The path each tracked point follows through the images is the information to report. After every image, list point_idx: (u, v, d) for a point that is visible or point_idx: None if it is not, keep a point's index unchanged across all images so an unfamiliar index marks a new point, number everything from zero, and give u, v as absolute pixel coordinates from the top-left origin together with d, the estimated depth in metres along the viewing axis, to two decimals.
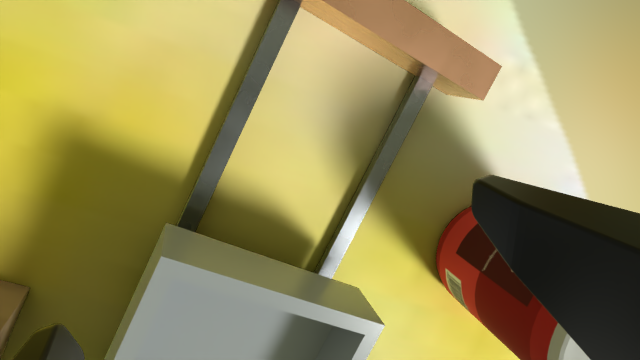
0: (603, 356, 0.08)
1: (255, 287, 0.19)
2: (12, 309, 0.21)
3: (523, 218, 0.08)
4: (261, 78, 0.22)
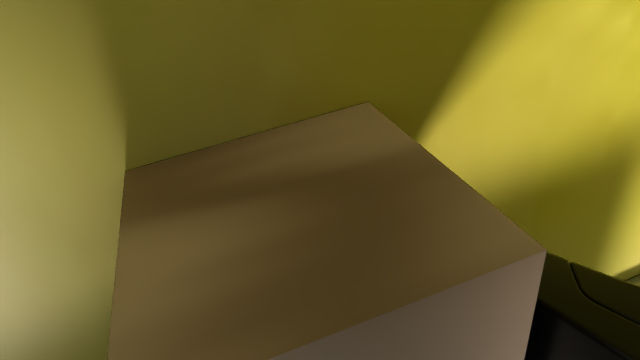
0: None
1: None
2: None
3: None
4: None
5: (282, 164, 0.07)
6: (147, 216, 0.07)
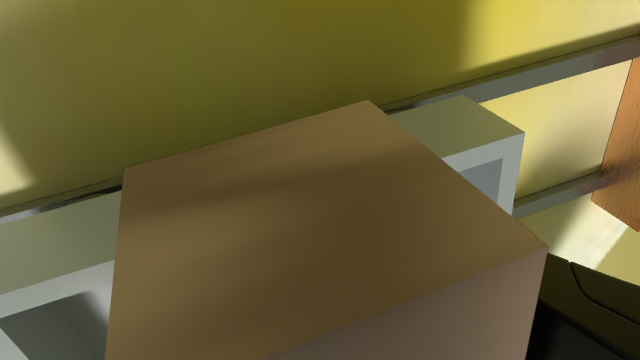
0: None
1: None
2: None
3: None
4: (581, 69, 0.22)
5: (282, 162, 0.07)
6: (146, 213, 0.07)
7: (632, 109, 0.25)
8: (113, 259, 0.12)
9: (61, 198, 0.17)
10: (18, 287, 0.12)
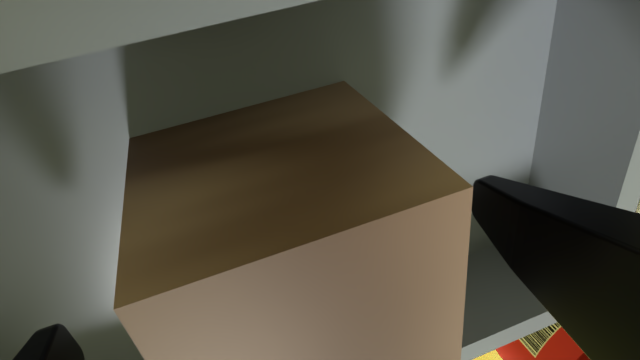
0: (603, 356, 0.08)
1: None
2: None
3: (523, 218, 0.08)
4: None
5: (266, 130, 0.09)
6: (148, 171, 0.08)
7: None
8: None
9: None
10: None
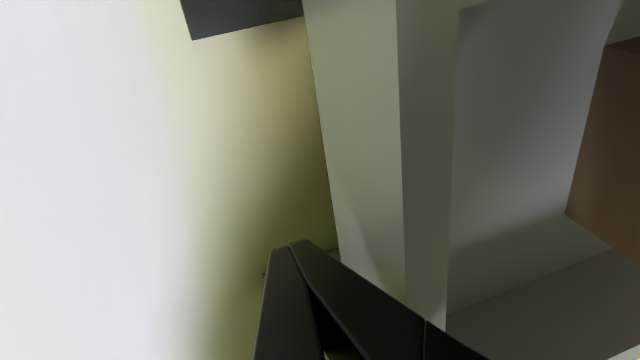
0: None
1: None
2: None
3: (310, 297, 0.07)
4: None
5: None
6: None
7: None
8: None
9: None
10: None
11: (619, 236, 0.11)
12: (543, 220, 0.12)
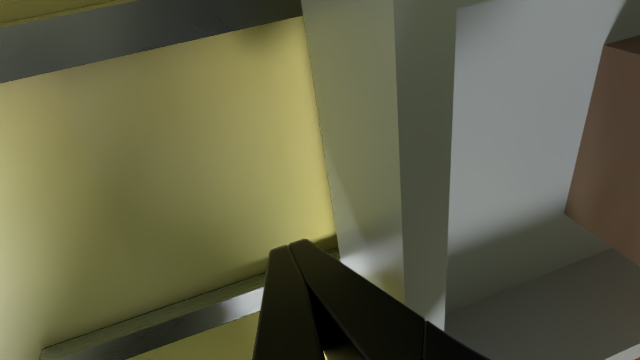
0: None
1: None
2: None
3: (310, 297, 0.07)
4: None
5: None
6: None
7: None
8: None
9: None
10: None
11: (618, 235, 0.11)
12: (542, 219, 0.12)
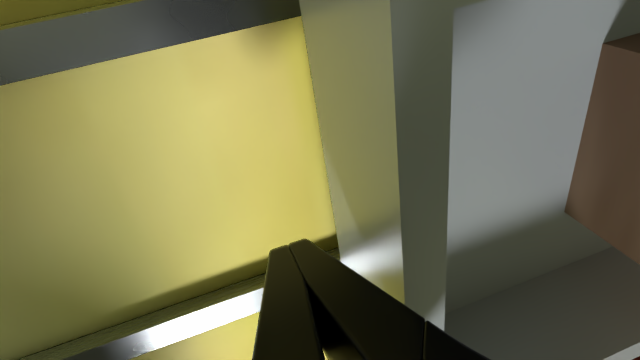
0: None
1: None
2: None
3: (311, 297, 0.07)
4: None
5: None
6: None
7: None
8: None
9: None
10: None
11: (619, 234, 0.11)
12: (543, 218, 0.12)
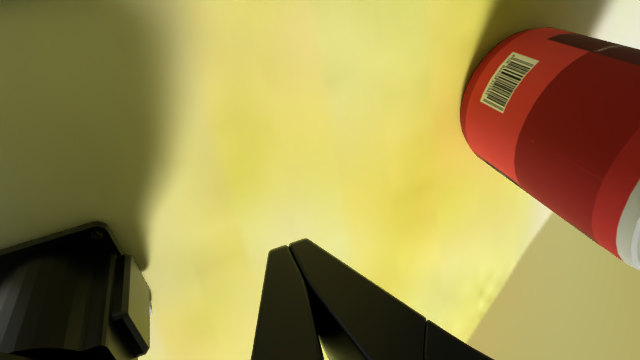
0: None
1: None
2: None
3: (312, 297, 0.07)
4: None
5: None
6: None
7: None
8: None
9: None
10: None
11: None
12: None
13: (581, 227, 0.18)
